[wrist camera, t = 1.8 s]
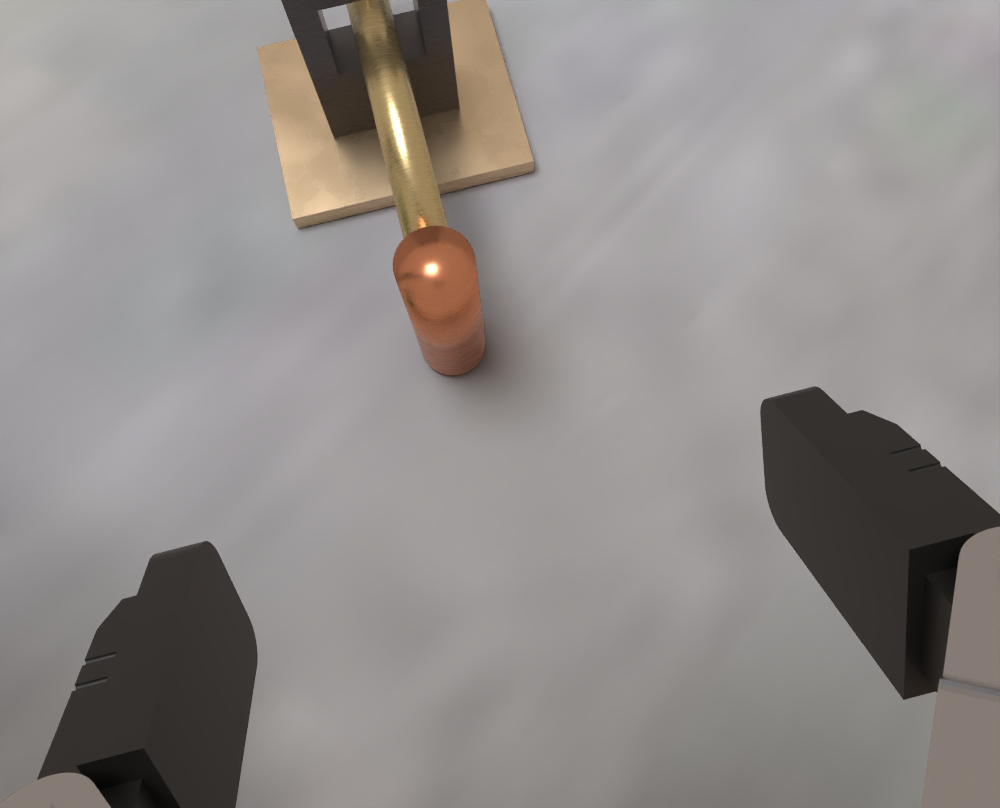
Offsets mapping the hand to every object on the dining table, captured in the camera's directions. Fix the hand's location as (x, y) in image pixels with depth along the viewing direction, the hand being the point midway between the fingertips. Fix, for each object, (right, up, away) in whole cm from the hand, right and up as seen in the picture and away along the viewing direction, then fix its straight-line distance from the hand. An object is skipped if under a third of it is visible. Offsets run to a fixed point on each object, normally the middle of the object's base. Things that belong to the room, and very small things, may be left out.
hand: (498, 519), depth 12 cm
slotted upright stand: (-5, +16, +31) cm, 36 cm away
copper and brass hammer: (-4, +13, +30) cm, 32 cm away
